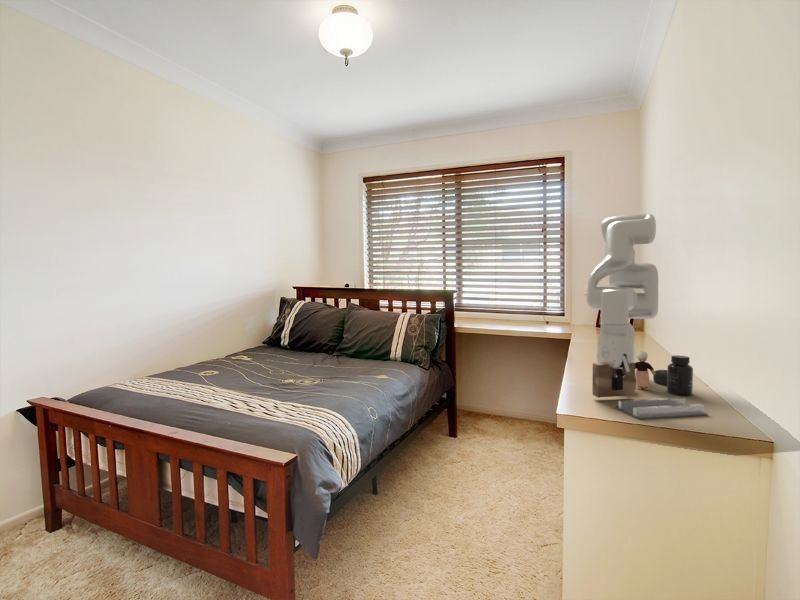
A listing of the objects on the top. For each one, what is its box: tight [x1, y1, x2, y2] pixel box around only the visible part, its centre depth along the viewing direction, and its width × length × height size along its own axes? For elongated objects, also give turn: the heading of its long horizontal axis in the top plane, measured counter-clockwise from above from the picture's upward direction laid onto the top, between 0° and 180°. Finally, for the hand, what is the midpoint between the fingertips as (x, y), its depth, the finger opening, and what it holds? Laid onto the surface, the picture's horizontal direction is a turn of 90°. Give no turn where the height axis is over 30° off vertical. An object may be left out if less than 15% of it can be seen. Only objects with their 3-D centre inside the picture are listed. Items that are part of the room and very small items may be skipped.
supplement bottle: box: [666, 354, 694, 397], centre depth 132 cm, size 7×7×12 cm
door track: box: [615, 396, 708, 421], centre depth 115 cm, size 10×20×2 cm, turn 97°
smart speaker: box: [652, 369, 667, 386], centre depth 144 cm, size 9×9×4 cm
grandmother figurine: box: [634, 351, 656, 391], centre depth 138 cm, size 8×4×13 cm, turn 72°
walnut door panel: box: [591, 361, 636, 398], centre depth 126 cm, size 3×12×10 cm, turn 97°
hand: (613, 387), depth 126 cm, fingers closed on walnut door panel, 3 cm apart
